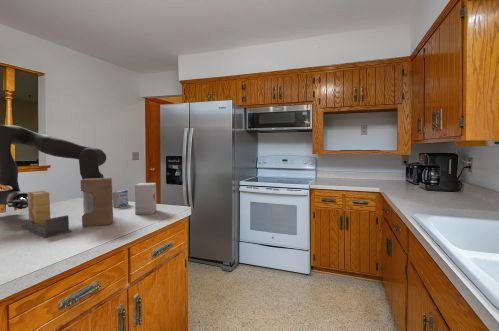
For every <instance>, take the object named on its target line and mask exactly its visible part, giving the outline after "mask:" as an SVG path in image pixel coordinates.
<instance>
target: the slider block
mask: <svg viewBox="0 0 499 331" xmlns="http://www.w3.org/2000/svg"><path fill="white" fill-rule="evenodd" d="M27 194H28V207H27V209H28V210H27V211H28V220H29V221H32V222H34V223H37V224H39V225H42V226H45V219H49V218H51V201H50V192H49V191H44V190H36V191H35V190H34V191H27Z"/></svg>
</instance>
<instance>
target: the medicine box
mask: <svg viewBox="0 0 499 331" xmlns="http://www.w3.org/2000/svg"><path fill="white" fill-rule="evenodd" d="M112 199H113V208H121V207H120V206H122V207H124V206H123V205H125V204H128V205H129V191H128V190H127V189H122V190H121V189H120V190H117V191H112ZM125 206H126V205H125Z"/></svg>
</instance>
